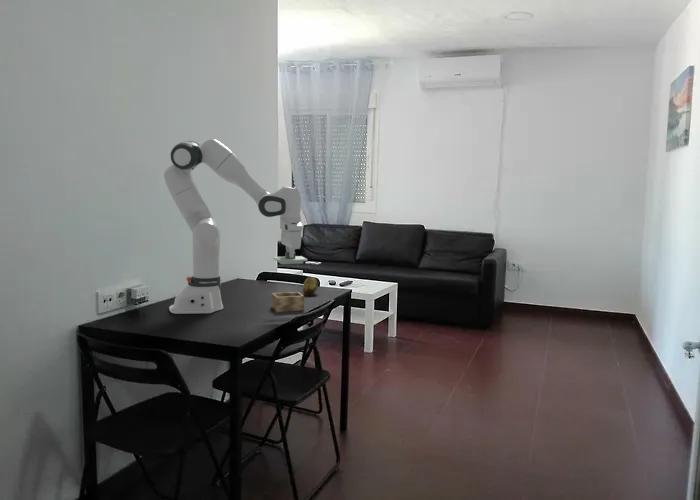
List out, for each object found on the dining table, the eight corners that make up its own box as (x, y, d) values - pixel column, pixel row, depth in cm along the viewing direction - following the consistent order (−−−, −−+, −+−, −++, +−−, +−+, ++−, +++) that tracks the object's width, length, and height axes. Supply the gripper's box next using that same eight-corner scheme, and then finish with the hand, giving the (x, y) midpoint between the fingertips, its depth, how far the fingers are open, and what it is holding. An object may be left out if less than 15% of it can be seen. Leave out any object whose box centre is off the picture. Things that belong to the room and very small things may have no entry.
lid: (278, 264, 245) (278, 254, 245) (273, 261, 254) (273, 251, 254) (307, 263, 250) (307, 253, 249) (301, 260, 259) (301, 250, 258)
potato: (296, 296, 283) (297, 279, 282) (306, 291, 295) (306, 275, 294) (313, 297, 280) (313, 281, 279) (322, 292, 293) (322, 276, 292)
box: (276, 313, 247) (276, 297, 246) (271, 308, 255) (271, 293, 254) (303, 311, 251) (304, 295, 250) (298, 307, 260) (298, 291, 259)
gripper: (277, 222, 258) (277, 253, 260) (289, 227, 239) (288, 260, 241) (291, 222, 261) (291, 253, 262) (304, 227, 242) (303, 260, 243)
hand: (290, 256), depth 252 cm, fingers closed on lid, 2 cm apart
